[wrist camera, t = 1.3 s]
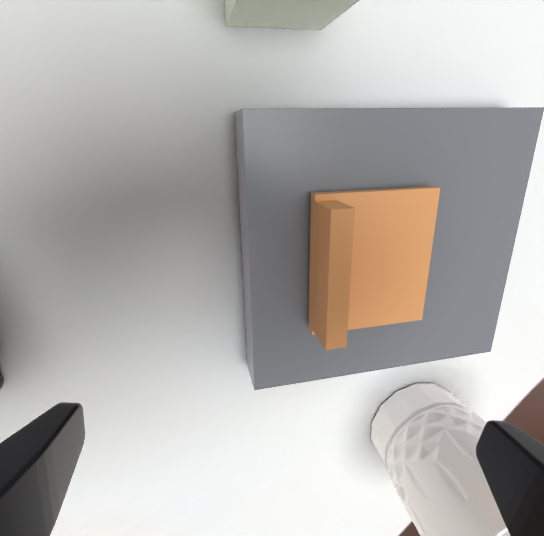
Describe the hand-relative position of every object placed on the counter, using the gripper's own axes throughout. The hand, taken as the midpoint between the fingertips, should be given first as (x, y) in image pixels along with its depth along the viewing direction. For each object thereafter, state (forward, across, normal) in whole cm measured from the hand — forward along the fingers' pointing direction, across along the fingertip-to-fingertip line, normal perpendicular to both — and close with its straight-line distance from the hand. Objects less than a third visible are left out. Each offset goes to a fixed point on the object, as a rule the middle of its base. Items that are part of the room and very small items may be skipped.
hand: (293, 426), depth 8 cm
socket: (+14, -6, 0) cm, 15 cm away
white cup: (+14, -12, +13) cm, 23 cm away
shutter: (+11, -5, 0) cm, 12 cm away
